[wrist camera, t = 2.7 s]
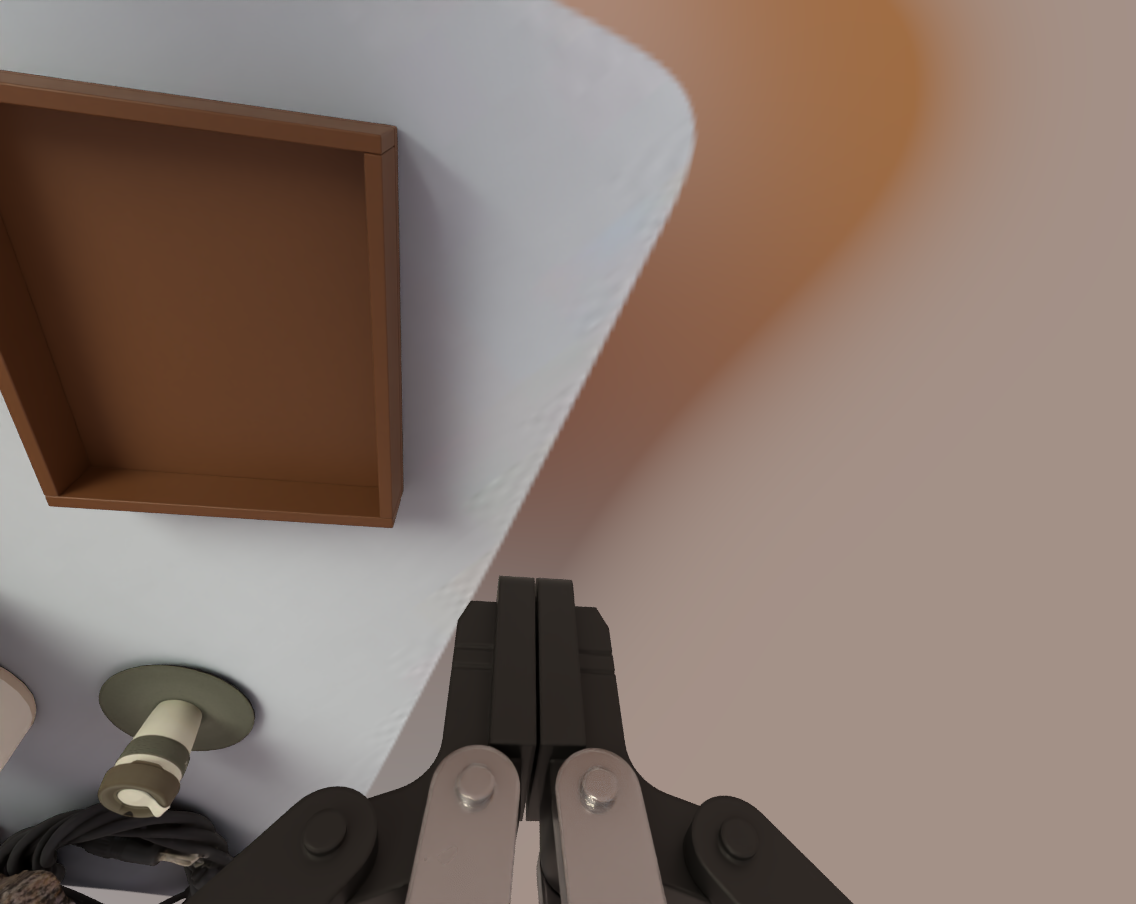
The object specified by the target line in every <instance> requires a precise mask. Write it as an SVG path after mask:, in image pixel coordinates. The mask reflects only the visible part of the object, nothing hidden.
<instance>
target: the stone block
mask: <svg viewBox="0 0 1136 904" xmlns="http://www.w3.org/2000/svg"><path fill="white" fill-rule="evenodd" d="M0 904H75V902H74V901H73V900H72V899H70V898H68V897H67V896H66V894H65V893H64V891H63V890H62V888H61V885H60V881H59V880H58V879H57V877H56V876H55V875H54V874H53V873H52V872H48V871H44V870H36V871H28V870H23V871H22V872H21V873H19V874H15V875H13V876H9V877H8V876H6V875H4V874H2V873H0Z"/></svg>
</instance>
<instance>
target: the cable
mask: <svg viewBox="0 0 1136 904" xmlns="http://www.w3.org/2000/svg"><path fill="white" fill-rule="evenodd" d="M69 844H72V845H75V846H78V847H81V848H84V849H85V851H87V852H88V853H91V854H93V855H98V856H100V857H103V858H114V859H118V860H121V861H125V862H131V863H138V864H145V865H150V866H155V865H157V864H158V863H160V861H163V860H164V861H169V862H172V863H176V864H178V865H181V866H184V868H185V872H186V875H187V878H188V882H189V886H188V887H187V888H186V889H185V891H184V892H182V893H179V894H177V895H175V896H173V897H171V898H169V899H167V900H165V901H163V902H161V903H159V904H173V903H175V902H177V901H179V900H181V899H184V898H186V900H185V901H184V902H183V903H182V904H184V903H185V902H186V901H187V900H188V899H189V898H190V897H192V896H193V895H194V894H195V893H196V892H197V891H198V890H199V889H200V888H202V887H203V886H204V885H205V884H206V883H207V882H208V881H209V880H211V879H212V878H213V877H214V876H215V875H216V874H217V873H218V872H220V871H221V870H222V869H223V868H224V867H225V866H226V865H227V864H229V863H230V862H231V861H232V860H233V859H234V858H235V857H236V856H235V857H232V856H230V855H229V854H228V845H227V842H226V840H225V839H224V838H223V837H222V836H220V835H219V834H217V833H216V832H215V828H214V826H213V824H212V823H211V822H210V821H209V820H208V819H207V818H206V817H204V816H202V815H200V814H197V813H193V812H186V811H169V810H166V811H165V812H164V813H163V814H162V815H161V816H160V817H155V816H153V817H147V818H137V817H129V816H124V815H120V814H118V813H115V812H113V811H111V810H109V809H107V808H106V807H104V806H103V805H102V804H101V803H99V804H96V805H93V806H91V807H88V808H86V809H81V810H74V811H69V812H66V813H62V814H59V815H56V816H54V817H52V818H50V819H47V820H46V821H44V822H42V823H40V824H39V825H37V826H34V827H30V828H26V829H24V830H21V831H19V832H17V833H16V834H14V835H12V836H11V837H10V838H8V839H7V840H6V841H5V842H4V843H3V844H2V846H1V847H0V873H2V874H4V875H6V876H8V877H9V876H13V875H15V874H19V873H21V872H22V871H23V870H28V871H36V870H44V871H48V872H52V873H53V874H54V875H55V876H56V877H57V879H58V880H59V881H60V882H61V881H62V880H63V878H64V876H65V873H66V870H65V868H64V866H63V865H62V864H58V863H56V860H57V851H56V850H57V849H58V848H60V847H61V846H64V845H69ZM239 854H240V853H239ZM239 854H238V855H239ZM238 855H237V856H238ZM61 888H62V890H63V891H64V893H65V894H66V896H67V897H68V898H70V899H72V900H73V901H74V902H75V904H103V903H101V902H99V901H97V900H95V899H92V898H90V897H88V896H86V895H84V894H82V893H79V892H77V891H75V890H72V889H70V888H67V887H64V886H62V885H61Z"/></svg>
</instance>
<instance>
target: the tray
mask: <svg viewBox="0 0 1136 904" xmlns="http://www.w3.org/2000/svg"><path fill="white" fill-rule="evenodd" d="M0 390H1V393H2V395H3V398H4V400H5V402H6V405H7V407H8V409H9V412H10V414H11V417H12V419H13V421H14V424H15V426H16V429H17V431H18V433H19V436H20V438H21V440H22V443H23V445H24V448H25V450H26V452H27V455H28V457H29V460H30V462H31V464H32V467H33V469H34V471H35V474H36V476H37V479H38V481H39V483H40V486H41V488H42V491H43V493H44V495H45V497H46V500H47V502H48V505H49V506H54V507H70V508H86V509H101V510H117V511H133V512H148V513H164V514H180V515H196V516H211V517H227V518H243V519H258V520H274V521H290V522H305V523H321V524H337V525H352V526H368V527H384V528H393V526H394V522H395V519H396V515H397V512H398V508H399V505H400V501H401V497H402V494H403V432H402V374H401V316H400V258H399V200H398V141H397V127H396V126H392V125H385V124H378V123H371V122H364V121H357V120H350V119H343V118H336V117H329V116H321V115H314V114H307V113H300V112H293V111H286V110H279V109H272V108H265V107H258V106H251V105H244V104H237V103H230V102H223V101H216V100H209V99H202V98H194V97H187V96H180V95H173V94H166V93H159V92H152V91H145V90H138V89H131V88H124V87H117V86H110V85H103V84H96V83H89V82H82V81H74V80H67V79H60V78H53V77H46V76H39V75H32V74H25V73H18V72H11V71H4V70H0Z"/></svg>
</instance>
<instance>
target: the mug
mask: <svg viewBox="0 0 1136 904" xmlns="http://www.w3.org/2000/svg"><path fill="white" fill-rule="evenodd" d="M35 715H36V704H35V700H34V697H33V695H32V694H31V692H30V691H29V690H28V688H27V687H26V686H25V684H24V683H23V682H21V681H20V680H19V679H18V678H16V677H15V676H14V675H13V674H12V673H10V672H9V671H7V670H5V669H4V668H2V667H0V772H1V770H2V769H3V767H4V766H5V764H6V763H7V761H8V760H9V758H10V757H11V755H12V754H13V752H14V751H15V749H16V748H17V746H18V745H19V744H20V742H21V741H22V739H23V738H24V736H25V735H26V733H27V732H28V730H29V729H30V727H31V726H32V724H33V723H34V719H35Z"/></svg>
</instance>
